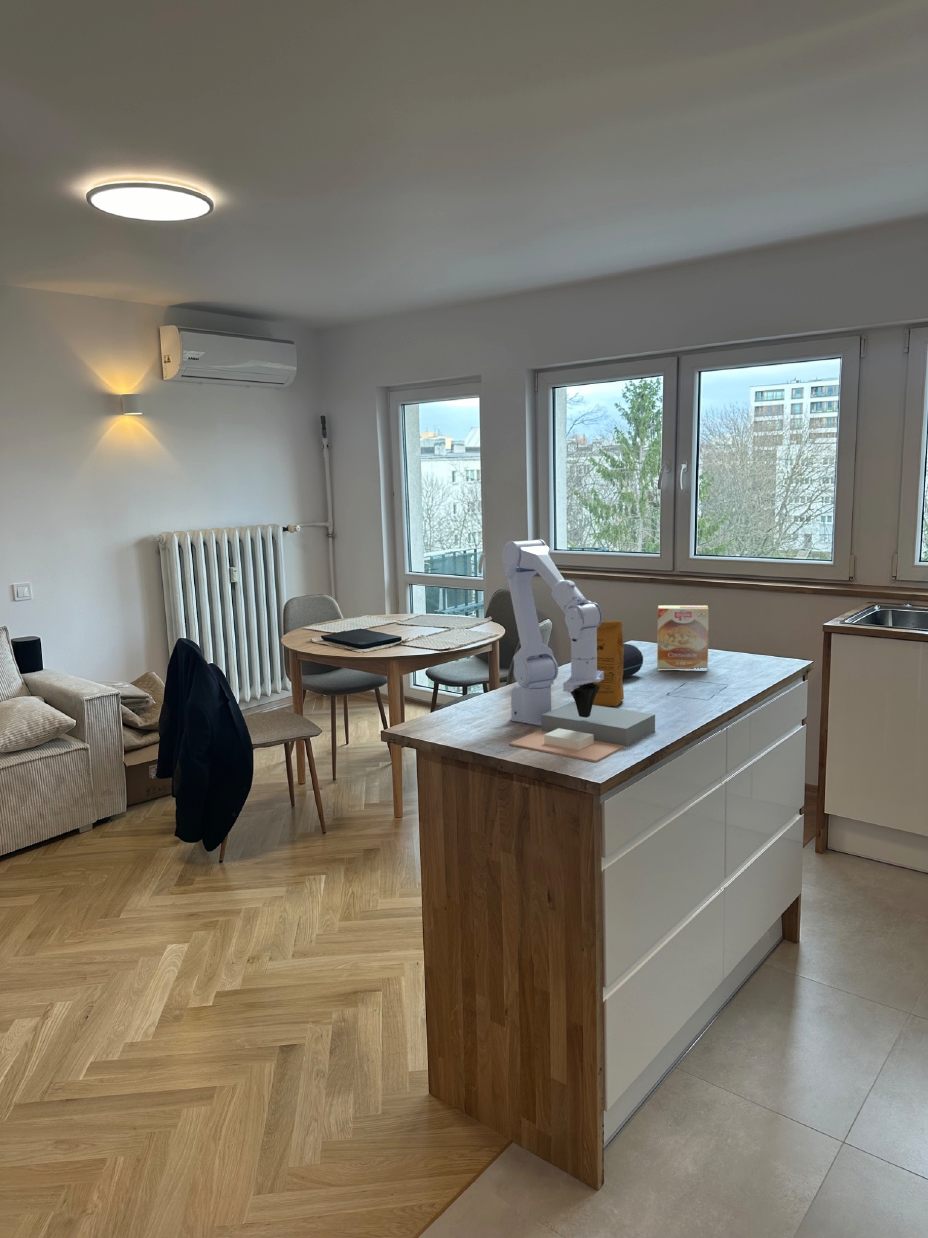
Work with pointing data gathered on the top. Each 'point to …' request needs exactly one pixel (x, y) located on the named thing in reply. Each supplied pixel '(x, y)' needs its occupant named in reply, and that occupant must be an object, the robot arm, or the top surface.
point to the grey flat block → (601, 723)
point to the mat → (588, 753)
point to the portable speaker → (631, 660)
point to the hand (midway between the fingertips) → (584, 716)
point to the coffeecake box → (682, 637)
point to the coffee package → (610, 664)
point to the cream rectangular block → (569, 739)
